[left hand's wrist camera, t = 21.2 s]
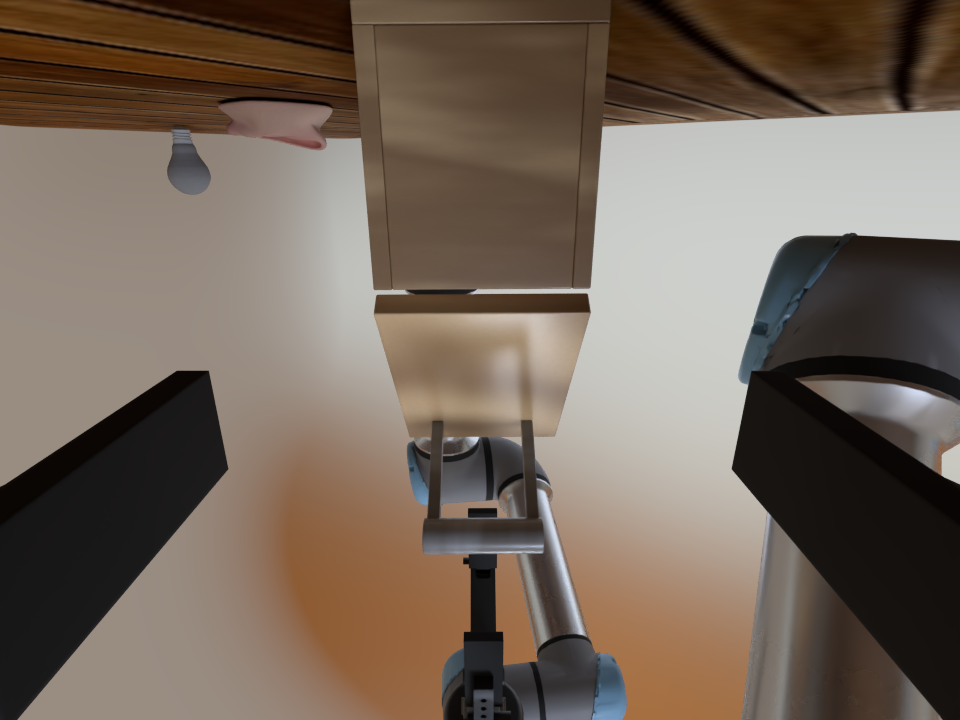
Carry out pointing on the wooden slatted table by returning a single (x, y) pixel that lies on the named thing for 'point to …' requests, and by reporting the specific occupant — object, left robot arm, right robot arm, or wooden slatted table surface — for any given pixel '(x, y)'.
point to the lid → (482, 391)
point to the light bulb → (187, 165)
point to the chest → (481, 140)
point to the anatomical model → (278, 121)
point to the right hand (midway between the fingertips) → (482, 563)
